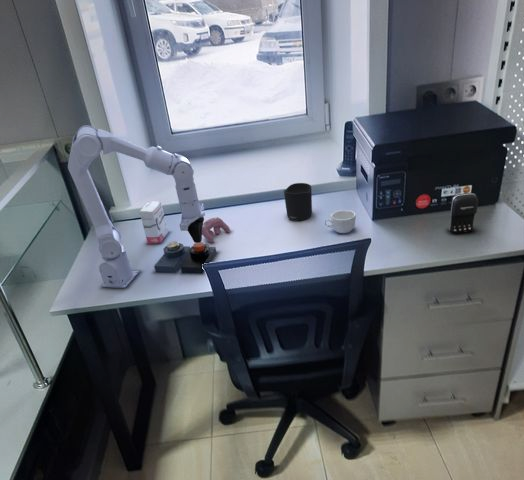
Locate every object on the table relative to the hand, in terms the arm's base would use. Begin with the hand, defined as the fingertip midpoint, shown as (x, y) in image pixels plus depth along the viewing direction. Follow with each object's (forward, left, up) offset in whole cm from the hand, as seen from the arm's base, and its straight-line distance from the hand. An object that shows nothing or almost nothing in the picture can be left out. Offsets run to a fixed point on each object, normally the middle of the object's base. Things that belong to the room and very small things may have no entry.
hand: (197, 241), depth 155 cm
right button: (0, 0, -3) cm, 3 cm away
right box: (-2, 0, -6) cm, 7 cm away
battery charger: (+21, -78, -6) cm, 81 cm away
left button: (0, +9, -3) cm, 9 cm away
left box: (-2, +9, -6) cm, 11 cm away
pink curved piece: (+16, +1, -6) cm, 17 cm away
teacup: (+21, -41, -6) cm, 47 cm away
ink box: (+14, +22, -6) cm, 27 cm away
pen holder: (+32, -25, -6) cm, 41 cm away
